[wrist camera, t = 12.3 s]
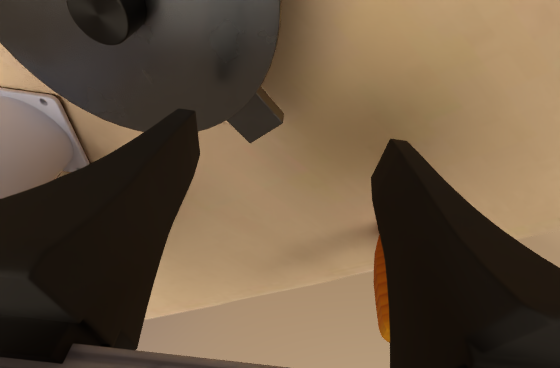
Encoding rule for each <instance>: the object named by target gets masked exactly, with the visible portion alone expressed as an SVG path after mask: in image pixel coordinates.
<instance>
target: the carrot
mask: <svg viewBox="0 0 560 368" xmlns="http://www.w3.org/2000/svg"><path fill="white" fill-rule="evenodd" d="M374 290H375V301H376V310H377V317H378V325H379V330H380V333H381V335H382V337H383V338H384V339H385V340H386V341H387V342H389V343H390V325H389V304H388V290H387V278H386V268H385V259H384V253H383V248H382V243H381V239H380V235H379V238H378V242H377V246H376V251H375V260H374Z"/></svg>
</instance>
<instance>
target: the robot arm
mask: <svg viewBox="0 0 560 368" xmlns="http://www.w3.org/2000/svg"><path fill="white" fill-rule="evenodd" d="M44 100H45V101H44ZM199 156H200V149H199V139H198V130H197V120H196V111H194V110H187V109H180V108H178V109H177V110H175V111H174V112H172V113H171V114H169V115H168V116H167V117H165V118H164V119H162V120H161V121H160V122H158V123H157V124H155V125H154V126H153V127H151V128H150V129H148V130H147V131H145V132H144V133H142V134H141V135H139V136H138V137H136V138H135V139H133V140H132V141H130V142H128V143H127V144H125V145H123V146H122V147H120V148H119V149H117V150H115V151H114V152H112V153H110V154H108V155H106V156H105V157H103V158H101V159H99V160H97V161H95V162H93V163H91V164H90V163H89V161H88V159H87V157H86V155H85V153H84V150H83V148H82V146H81V144H80V142H79V140H78V138H77V136H76V134H75V132H74V130H73V128H72V126H71V123H70V121H69V119H68V117H67V115H66V113H65V111H64V109H63V107H62V105H61V103H60V101H59V99H58V98H56V97H55V96H53V95H49V94H42V93H35V92H28V91H21V90H14V89H7V88H0V368H288V367H278V366H270V365H261V364H252V363H242V362H234V361H225V360H216V359H207V358H198V357H190V356H181V355H172V354H163V353H154V352H145V351H136V349H137V346H138V342H139V338H140V334H141V330H142V326H143V322H144V318H145V314H146V310H147V306H148V302H149V298H150V295H151V291H152V287H153V284H154V280H155V277H156V273H157V270H158V267H159V263H160V260H161V256H162V253H163V250H164V247H165V244H166V241H167V238H168V235H169V232H170V229H171V227H172V224H173V222H174V220H175V217H176V215H177V213H178V211H179V208H180V206H181V204H182V202H183V200H184V197H185V195H186V193H187V191H188V188H189V186H190V184H191V181H192V179H193V177H194V174H195V170H196V167H197V163H198V160H199ZM62 171H66V172H71V173H69V174H67V175H64V176H62V177H59V178H57V179H55V178H56V177H57V176H58V175H59V174H60V173H61V172H62ZM371 187H372V201H373V206H374V211H375V216H376V220H377V225H378V230H379V234H380V239H381V243H382V248H383V253H384V259H385V268H386V278H387V290H388V304H389V325H390V368H560V268H559V267H557V266H556V265H554V264H552V263H551V262H549V261H547V260H546V259H544V258H542V257H541V256H539V255H538V254H536V253H535V252H533V251H532V250H530V249H529V248H527V247H525V246H524V245H523V244H521V243H520V242H518V241H517V240H516V239H514V238H513V237H511V236H510V235H508V234H507V233H506V232H504V231H503V230H502V229H500V228H499V227H498V226H496V225H495V224H494V223H492V222H491V221H490V220H489V219H487V218H486V217H485V216H484V215H482V214H481V213H480V212H479V211H478V210H476V209H475V208H474V207H473V206H472V205H471V204H469V203H468V202H467V201H466V200H465V199H464V198H463V197H462V196H461V195H460V194H459V193H457V192H456V191H455V190H454V189H453V188H452V187H451V186H450V185H449V184H448V183H447V182H446V181H445V180H444V179H443V178H442V177H441V176H440V175H439V174H438V173H437V172H436V171H435V170H434V169H433V168H432V166H431V165H430V164H429V163H428V162H427V161H426V160H425V159H424V158H423V157H422V156H421V155H420V154H419V153H418V152H417V151H416V150H415V149H414V148H413V147H412V146H411V145H410V144H409V143H408V142H407V141H403V140H396V139H390V140H389V142H388V144H387V146H386V148H385V150H384V152H383V154H382V157H381V159H380V161H379V163H378V165H377V167H376V169H375V171H374V173H373V175H372V177H371Z"/></svg>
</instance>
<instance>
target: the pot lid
mask: <svg viewBox="0 0 560 368" xmlns="http://www.w3.org/2000/svg"><path fill="white" fill-rule="evenodd" d="M281 2H282V0H0V43H1V44H2V45H3V46H4V47H5V48H6V49H7V50H8V51H9V52H10V53H11V54H12V55H13V56H14V57H15V58H16V59H17V60H18V61H19V62H20V63H21V64H22V65H23V66H24V67H25V68H27V69H28V70H29V71H30V72H31V73H32V74H33V75H34V76H35V77H37V78H38V79H39V80H41V81H42V82H43V83H44V84H46V85H47V86H48V87H49V88H51V89H52V90H53V91H55V92H56V93H58V94H59V95H61V96H62V97H64V98H65V99H67V100H68V101H70V102H71V103H73V104H75V105H77V106H78V107H80V108H82V109H84V110H85V111H87V112H89V113H91V114H93V115H95V116H97V117H100V118H102V119H104V120H106V121H109V122H112V123H114V124H117V125H119V126H123V127H126V128H130V129H133V130H137V131H142V132H145V131H147V130H148V129H150V128H151V127H153V126H154V125H155V124H157V123H158V122H160V121H161V120H162V119H164V118H165V117H167V116H168V115H169V114H171V113H172V112H174V111H175V110H177V109H178V108H180V109H187V110H194V111H196V120H197V130H198V131H201V130H205V129H208V128H211V127H213V126H216V125H218V124H220V123H222V122H224V121H225V120H227V119H229V118H230V117H232V116H234V115H235V114H236V113H237V112H238V111H240V110H241V109H242V108H243V107H244V106H245V105H246V104H247V103H248V102H249V101H250V100H251V98H252V97H253V96H254V95H255V93H256V92H257V90H258V89H259V87H260V86H261V84H262V83H263V81H264V79H265V77H266V75H267V72H268V70H269V68H270V66H271V63H272V59H273V56H274V53H275V50H276V46H277V40H278V35H279V29H280V22H281Z"/></svg>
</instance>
